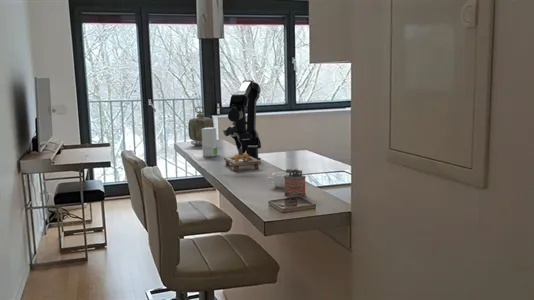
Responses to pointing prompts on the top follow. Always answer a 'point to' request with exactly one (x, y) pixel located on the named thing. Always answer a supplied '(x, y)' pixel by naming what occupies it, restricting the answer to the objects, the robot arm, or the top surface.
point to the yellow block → (240, 155)
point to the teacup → (278, 179)
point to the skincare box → (209, 142)
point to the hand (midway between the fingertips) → (241, 151)
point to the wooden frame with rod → (252, 161)
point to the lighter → (294, 183)
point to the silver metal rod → (243, 159)
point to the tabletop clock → (199, 126)
